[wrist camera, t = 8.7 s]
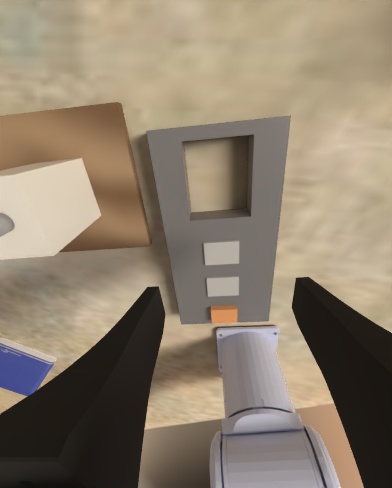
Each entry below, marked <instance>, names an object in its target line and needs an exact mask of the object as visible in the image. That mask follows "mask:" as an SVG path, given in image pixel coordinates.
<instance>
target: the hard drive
mask: <svg viewBox="0 0 392 488" xmlns="http://www.w3.org/2000/svg"><path fill="white" fill-rule="evenodd" d="M56 360H57V358H54V357H52V356H49V355H47V354H44V353H41V352H39V351H36V350H34V349H31V348H29V347H26V346H23V345H21V344H18V343H16V342H13V341H11V340H8V339H5V338H3V337H1V338H0V387H1V388H4V389H7V390H10V391H13V392H16V393H19V394H22V395H25V396H29V395H31V394H32V393H34V392H35V391H36V390H37V389H38V387H39V386H40V384H41V383H42V381H43V380H44V378H45V377H46V375H47V374H48V372H49V371H50V369H51V368H52V366H53V365H54V363H55V361H56Z"/></svg>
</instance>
